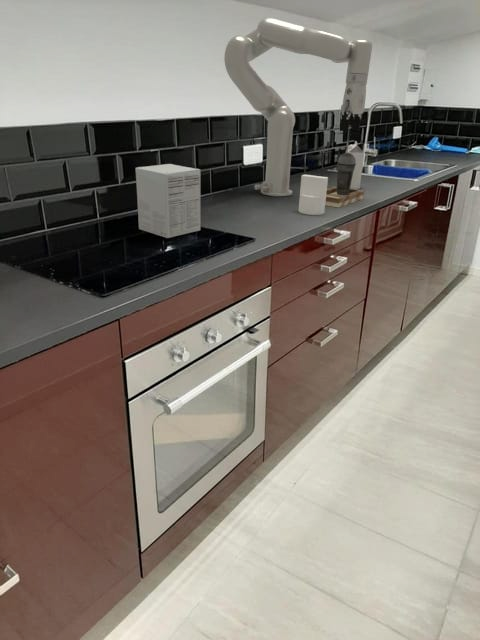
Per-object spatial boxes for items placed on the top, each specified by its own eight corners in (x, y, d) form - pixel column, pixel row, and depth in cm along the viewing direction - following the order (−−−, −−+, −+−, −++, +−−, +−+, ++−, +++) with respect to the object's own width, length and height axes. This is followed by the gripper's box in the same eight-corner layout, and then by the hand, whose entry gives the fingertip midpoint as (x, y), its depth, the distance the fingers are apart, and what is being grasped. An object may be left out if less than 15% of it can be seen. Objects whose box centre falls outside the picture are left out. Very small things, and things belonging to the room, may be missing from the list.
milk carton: (357, 186, 219) (363, 141, 211) (359, 189, 212) (365, 143, 204) (341, 185, 219) (347, 140, 211) (342, 188, 213) (348, 142, 205)
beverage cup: (338, 196, 190) (344, 141, 181) (330, 192, 196) (336, 139, 187) (355, 195, 191) (362, 141, 183) (346, 192, 198) (353, 139, 189)
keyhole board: (338, 207, 179) (339, 198, 177) (307, 202, 185) (308, 193, 184) (363, 198, 195) (364, 190, 193) (333, 193, 202) (334, 185, 200)
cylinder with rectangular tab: (328, 211, 173) (332, 176, 167) (318, 216, 166) (322, 179, 160) (304, 207, 177) (307, 173, 172) (294, 212, 170) (297, 176, 164)
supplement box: (201, 230, 145) (202, 169, 137) (167, 239, 136) (165, 173, 128) (172, 221, 152) (170, 163, 145) (137, 229, 143) (134, 167, 136)
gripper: (356, 79, 168) (348, 132, 175) (375, 81, 181) (368, 130, 188) (336, 78, 172) (329, 130, 179) (356, 80, 184) (350, 128, 192)
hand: (349, 130), depth 184 cm, fingers open, 9 cm apart
